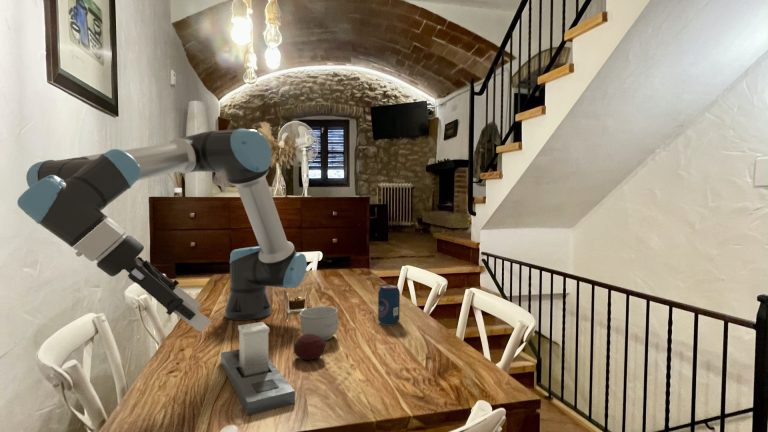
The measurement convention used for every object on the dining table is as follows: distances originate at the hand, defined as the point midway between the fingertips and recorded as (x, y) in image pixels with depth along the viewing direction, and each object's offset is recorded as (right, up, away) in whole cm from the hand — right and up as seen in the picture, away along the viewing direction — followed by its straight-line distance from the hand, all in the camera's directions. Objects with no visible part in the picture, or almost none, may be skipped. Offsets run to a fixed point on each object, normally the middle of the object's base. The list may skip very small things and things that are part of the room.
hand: (201, 317), depth 83 cm
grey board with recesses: (+9, -15, +6) cm, 19 cm away
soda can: (+39, -14, +49) cm, 64 cm away
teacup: (+19, -14, +36) cm, 43 cm away
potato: (+19, -15, +19) cm, 31 cm away
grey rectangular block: (+9, -15, +6) cm, 19 cm away
